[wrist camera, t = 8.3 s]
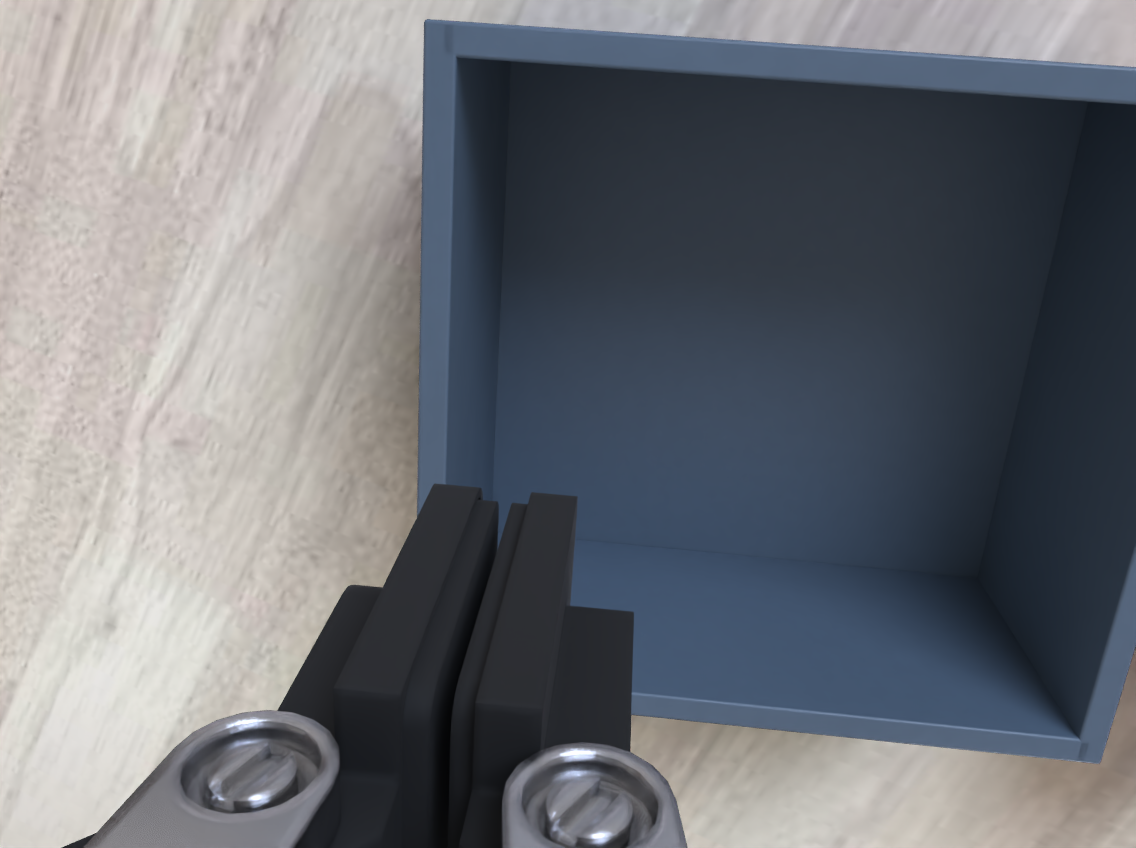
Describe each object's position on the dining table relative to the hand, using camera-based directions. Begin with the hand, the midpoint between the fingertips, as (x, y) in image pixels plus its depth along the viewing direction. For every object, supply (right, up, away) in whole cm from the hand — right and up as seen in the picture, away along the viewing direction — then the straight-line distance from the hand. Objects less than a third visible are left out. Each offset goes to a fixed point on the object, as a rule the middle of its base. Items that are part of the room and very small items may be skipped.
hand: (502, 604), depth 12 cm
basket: (-2, +4, +12) cm, 13 cm away
